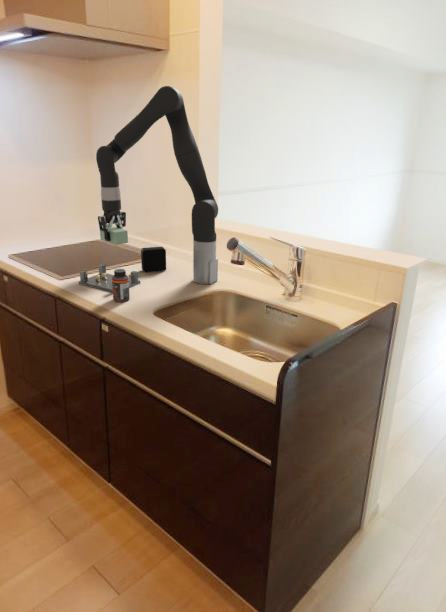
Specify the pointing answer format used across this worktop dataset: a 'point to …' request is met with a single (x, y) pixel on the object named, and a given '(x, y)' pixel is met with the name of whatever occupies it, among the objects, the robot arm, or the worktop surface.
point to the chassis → (104, 279)
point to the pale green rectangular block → (116, 236)
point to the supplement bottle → (120, 286)
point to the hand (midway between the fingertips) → (113, 239)
